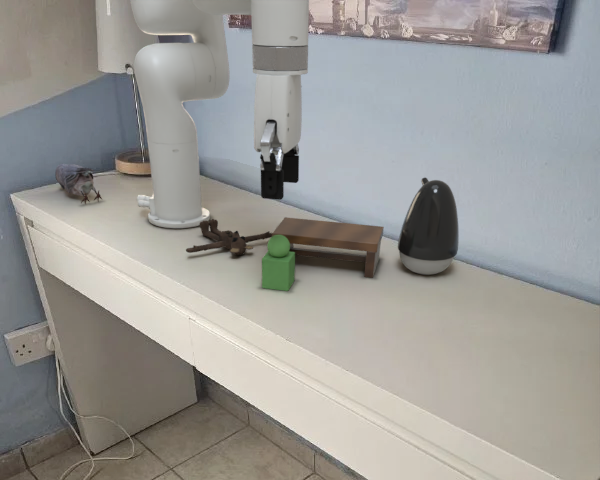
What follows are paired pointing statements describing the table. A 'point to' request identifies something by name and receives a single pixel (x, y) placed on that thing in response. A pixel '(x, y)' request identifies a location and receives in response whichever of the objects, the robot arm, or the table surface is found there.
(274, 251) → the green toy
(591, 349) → the table surface
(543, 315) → the table surface
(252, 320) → the table surface
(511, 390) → the table surface
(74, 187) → the bird
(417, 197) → the pump dispenser
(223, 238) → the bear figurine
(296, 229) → the bench
